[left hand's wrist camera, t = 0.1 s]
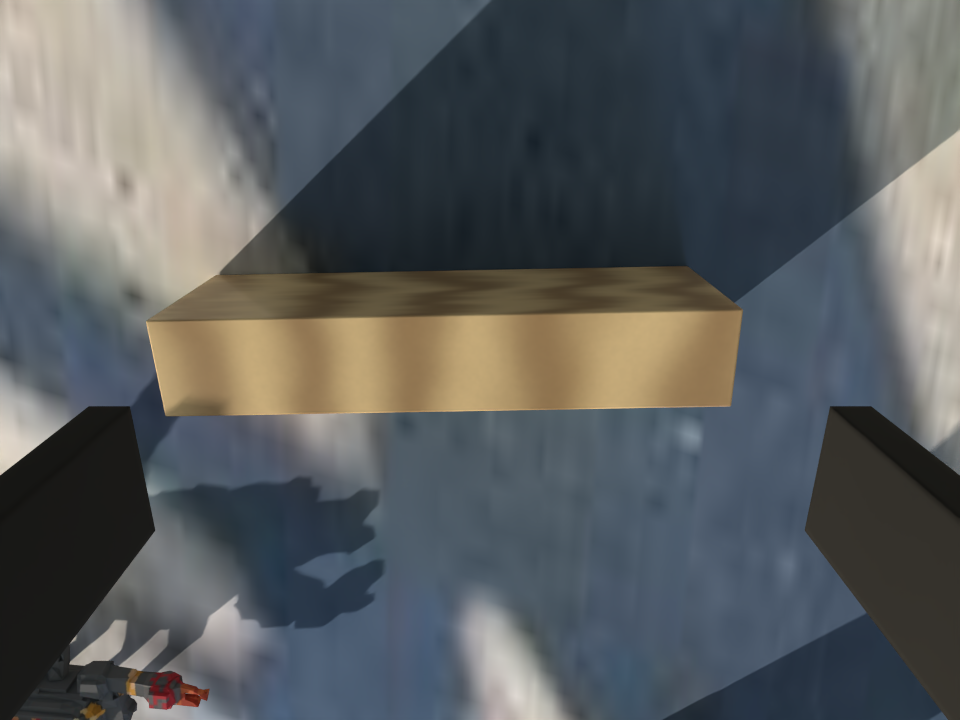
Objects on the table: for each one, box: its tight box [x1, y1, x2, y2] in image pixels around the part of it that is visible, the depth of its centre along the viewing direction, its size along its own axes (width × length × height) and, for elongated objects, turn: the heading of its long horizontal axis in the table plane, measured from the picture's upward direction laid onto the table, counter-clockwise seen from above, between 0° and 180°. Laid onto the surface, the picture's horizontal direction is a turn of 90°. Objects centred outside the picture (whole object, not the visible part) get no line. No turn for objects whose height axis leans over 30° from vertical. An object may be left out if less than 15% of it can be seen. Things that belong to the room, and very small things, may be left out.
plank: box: [146, 266, 743, 416], centre depth 37 cm, size 28×5×9 cm, turn 91°
